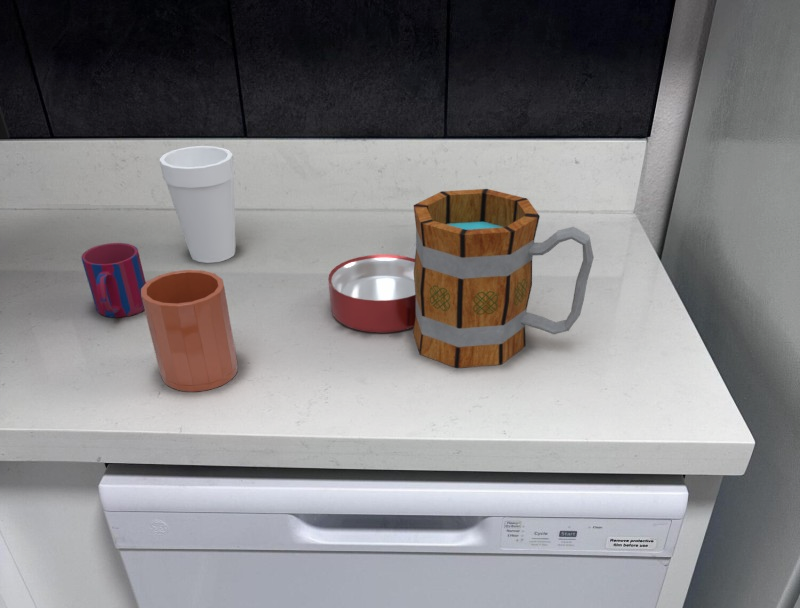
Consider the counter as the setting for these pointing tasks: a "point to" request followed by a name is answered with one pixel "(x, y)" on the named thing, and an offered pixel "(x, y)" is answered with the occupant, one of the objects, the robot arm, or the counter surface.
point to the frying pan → (374, 293)
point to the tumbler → (190, 329)
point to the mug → (481, 276)
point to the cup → (115, 279)
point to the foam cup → (203, 199)
